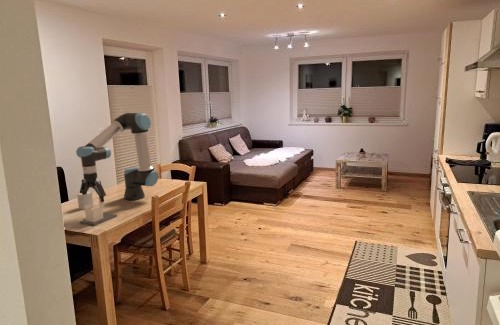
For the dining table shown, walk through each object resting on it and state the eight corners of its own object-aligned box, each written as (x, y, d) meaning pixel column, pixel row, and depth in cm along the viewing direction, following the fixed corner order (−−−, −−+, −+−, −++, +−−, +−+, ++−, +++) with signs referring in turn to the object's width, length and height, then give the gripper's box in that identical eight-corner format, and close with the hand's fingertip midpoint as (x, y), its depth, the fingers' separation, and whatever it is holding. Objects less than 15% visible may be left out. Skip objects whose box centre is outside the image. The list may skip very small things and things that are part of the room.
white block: (95, 216, 224) (94, 204, 223) (103, 218, 221) (102, 205, 220) (86, 220, 218) (84, 207, 217) (94, 222, 215) (92, 209, 214)
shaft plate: (103, 214, 233) (103, 206, 232) (117, 216, 228) (116, 208, 227) (80, 223, 218) (79, 214, 216) (94, 226, 212) (93, 217, 211)
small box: (87, 205, 252) (86, 191, 250) (93, 206, 250) (92, 191, 248) (78, 208, 245) (76, 194, 243) (84, 209, 243) (83, 194, 241)
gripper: (70, 172, 216) (75, 205, 221) (99, 175, 205) (103, 210, 210) (81, 169, 223) (85, 201, 227) (109, 172, 212) (113, 206, 217)
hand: (94, 205), depth 219 cm, fingers open, 13 cm apart
